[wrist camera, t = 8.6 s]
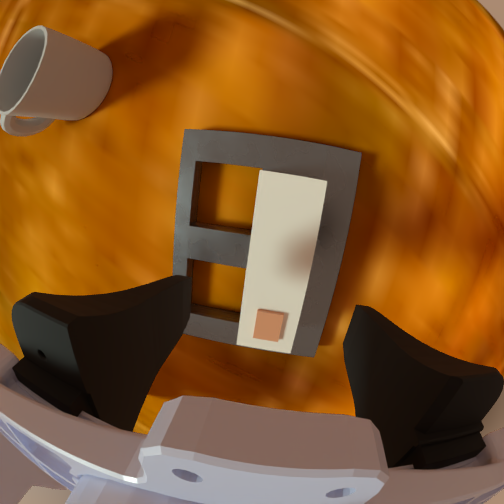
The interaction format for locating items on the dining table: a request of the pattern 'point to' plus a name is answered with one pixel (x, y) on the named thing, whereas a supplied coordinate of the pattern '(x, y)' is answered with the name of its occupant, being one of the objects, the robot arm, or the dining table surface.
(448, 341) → the dining table surface
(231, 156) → the keyhole plate
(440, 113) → the dining table surface
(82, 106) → the cup
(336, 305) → the dining table surface
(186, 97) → the dining table surface
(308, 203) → the power strip
